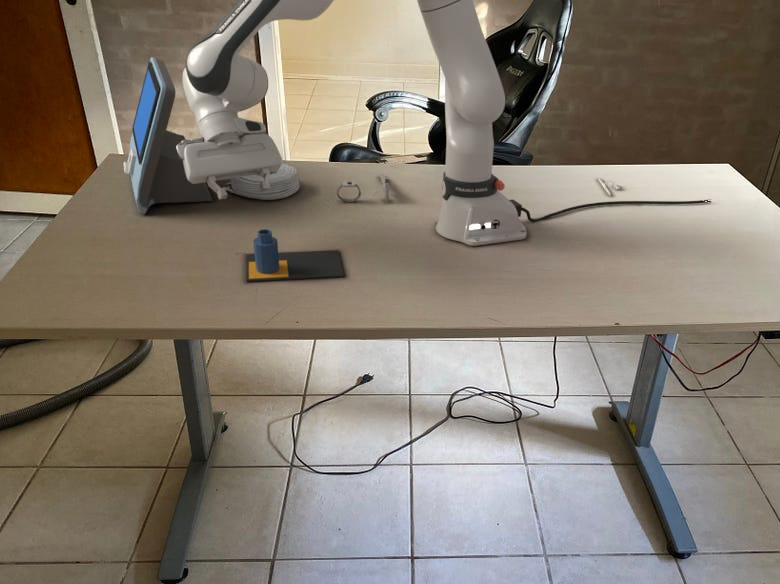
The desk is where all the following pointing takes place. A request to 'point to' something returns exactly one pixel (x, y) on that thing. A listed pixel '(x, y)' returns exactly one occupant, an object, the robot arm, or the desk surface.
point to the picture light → (606, 187)
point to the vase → (266, 252)
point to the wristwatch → (348, 184)
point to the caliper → (385, 186)
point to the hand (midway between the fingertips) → (245, 194)
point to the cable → (279, 182)
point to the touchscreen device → (158, 147)
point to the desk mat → (299, 266)
